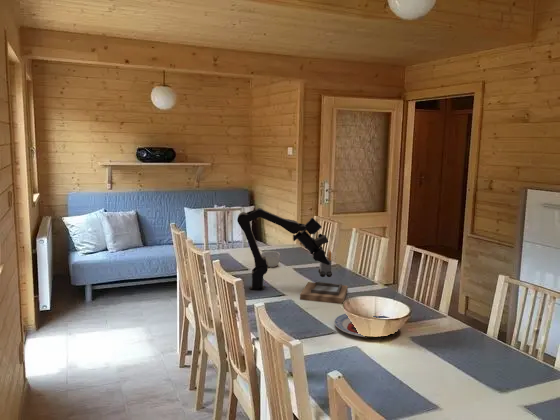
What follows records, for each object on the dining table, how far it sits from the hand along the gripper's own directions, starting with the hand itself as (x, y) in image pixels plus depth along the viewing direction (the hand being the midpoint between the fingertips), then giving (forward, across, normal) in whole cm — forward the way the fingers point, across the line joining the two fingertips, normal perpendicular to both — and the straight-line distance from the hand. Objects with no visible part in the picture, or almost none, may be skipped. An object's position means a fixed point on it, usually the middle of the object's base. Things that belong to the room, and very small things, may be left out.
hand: (328, 262), depth 239 cm
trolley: (+4, 0, +6) cm, 7 cm away
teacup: (-11, +42, +30) cm, 53 cm away
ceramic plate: (+16, -51, +4) cm, 54 cm away
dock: (+8, -10, +11) cm, 17 cm away
